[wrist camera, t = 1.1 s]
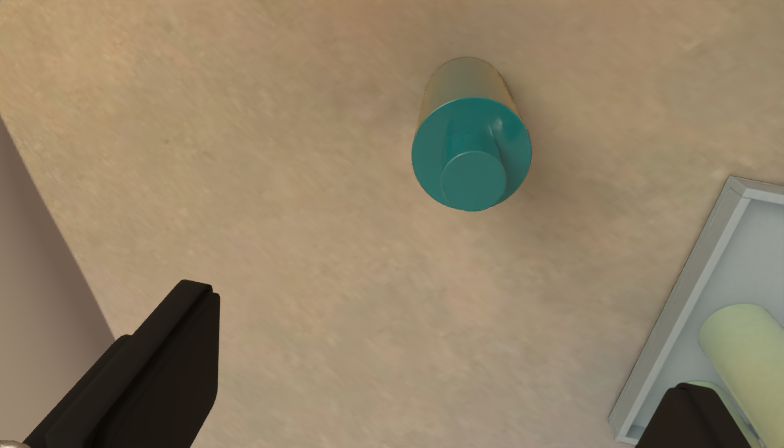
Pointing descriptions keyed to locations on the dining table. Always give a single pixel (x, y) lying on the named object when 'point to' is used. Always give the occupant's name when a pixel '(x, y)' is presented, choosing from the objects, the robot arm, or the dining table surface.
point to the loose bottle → (469, 137)
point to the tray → (709, 299)
